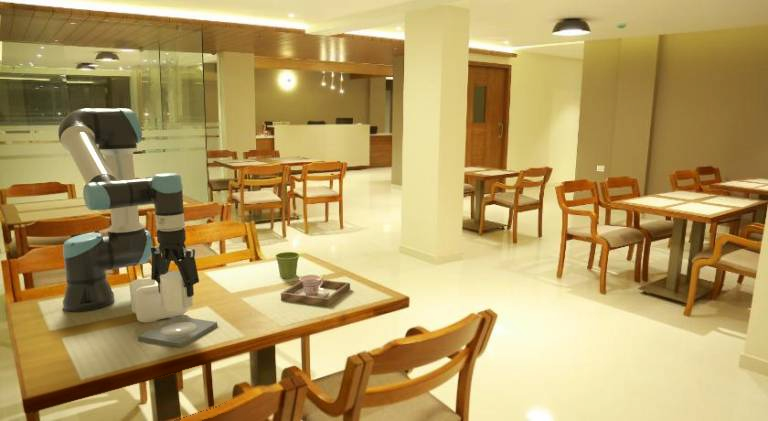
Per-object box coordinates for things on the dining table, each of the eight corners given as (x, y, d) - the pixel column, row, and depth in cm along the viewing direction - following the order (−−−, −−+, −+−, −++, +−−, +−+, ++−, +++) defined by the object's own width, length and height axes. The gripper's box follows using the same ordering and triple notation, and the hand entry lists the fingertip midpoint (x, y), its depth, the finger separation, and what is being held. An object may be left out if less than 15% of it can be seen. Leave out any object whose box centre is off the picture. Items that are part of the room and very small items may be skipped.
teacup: (304, 303, 181) (303, 285, 180) (288, 293, 190) (287, 276, 189) (334, 295, 188) (334, 279, 187) (317, 286, 198) (317, 270, 196)
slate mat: (138, 339, 152) (137, 335, 152) (177, 319, 167) (177, 315, 166) (180, 347, 147) (180, 343, 147) (217, 325, 162) (217, 321, 161)
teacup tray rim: (281, 300, 184) (280, 293, 183) (306, 284, 200) (305, 277, 200) (328, 306, 177) (328, 299, 177) (350, 289, 194) (350, 282, 194)
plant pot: (305, 275, 211) (304, 254, 209) (289, 281, 203) (288, 259, 201) (287, 271, 216) (286, 250, 214) (270, 277, 208) (270, 256, 206)
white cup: (181, 313, 151) (178, 279, 149) (156, 311, 152) (153, 277, 150) (196, 303, 158) (194, 271, 156) (172, 301, 160) (170, 269, 158)
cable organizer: (181, 305, 179) (178, 272, 176) (188, 315, 170) (186, 280, 168) (132, 315, 171) (128, 280, 168) (137, 326, 162) (134, 289, 160)
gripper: (132, 228, 151) (139, 305, 155) (191, 233, 144) (197, 314, 148) (152, 223, 158) (158, 297, 162) (209, 228, 151) (214, 305, 155)
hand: (177, 305), depth 155 cm, fingers closed on white cup, 8 cm apart
